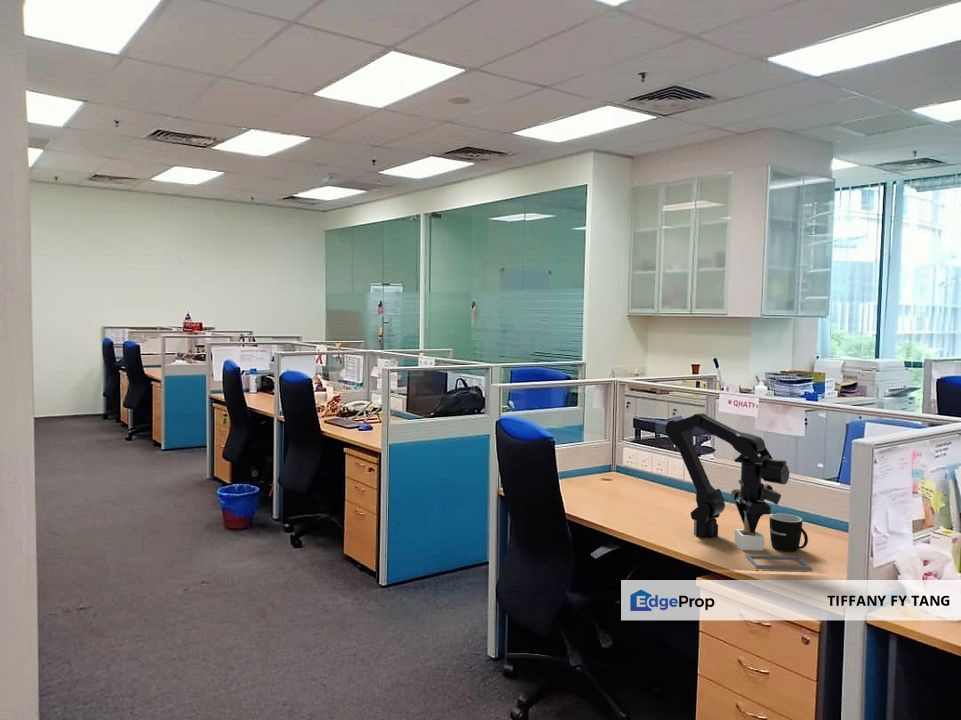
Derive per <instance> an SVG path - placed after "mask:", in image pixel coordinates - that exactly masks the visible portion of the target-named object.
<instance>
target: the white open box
mask: <svg viewBox="0 0 961 720" xmlns="http://www.w3.org/2000/svg"><path fill="white" fill-rule="evenodd" d="M733 543H734V544H735V545H736V547H737V548H739V550H741V551H765V549H764V548H765V535H763V534H762V533H761V532H760V531H759V530H758V529H756V530H755V535H744V528H743V529H742V528H741V529H737V528H735V529H734V542H733Z"/></svg>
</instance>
